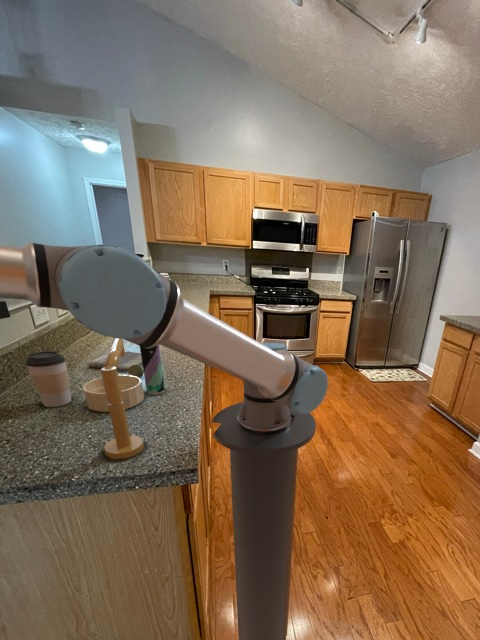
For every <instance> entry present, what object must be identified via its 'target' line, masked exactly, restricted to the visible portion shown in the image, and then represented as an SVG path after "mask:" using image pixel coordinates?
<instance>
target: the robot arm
mask: <svg viewBox="0 0 480 640" xmlns="http://www.w3.org/2000/svg"><path fill="white" fill-rule="evenodd" d="M0 299H11V300H25V301H29V302H31V303H32V304H33V305H35V306H36V307H37V308H47V309H58V310H63V311H66V312H67V311H68V312H69V313H70V314H71V316H73V318H75V319H76V320H77V321H78V322H79V323H80V324H82V325H84V326H85V327H86V328H87V329H89V330H90V331H92V332H94V333H97V334H98V335H101V336H103V337H110V338H113V339H116V338H117V339H122V340H123V341H126V342H130V343H132V344H134V345H136V346H139V347H140V346H141V347H144V348H152V347H154V346H157V345H159V346H160V345H161V346H163V347H165V348H168V349H170V350H172V351H174V352H176V353H179V354H181V355H184V356H186V357H187V358H190V359H193V360H195V361H197V362H199V363H202V364H204V365H207V366H208V367H211V368H214V369H215V370H218V371H220V372H223V373H225V374H228V375H230V376H232V377H234V378H236V379H239V380H241V381H243V399H242V401H241V402H242V405H241V408H240V411H239V414H238V424H239V426H240V427H241V428H242V429H244V430H246V431H248V432H251V433H256V434H273V433H277V432H280V431H283V430H285V429H286V428H287V427H288V426H289V425H290V421H291V417H292V418H295V415H293V414H291V413H290V412H289V409H288V407H289V408H290V409H292V410H293V411H294V412H297V413H299V414H308V413H310V414H311V413H312V412H313V411H314V410H316V409H318V408H319V406H320V405H321V404H322V403H323V401H324V399H325V397H326V394H327V391H328V387H329V378H328V375H327V373H326V371H325V370H324V369H322V368H321V367H320V366H319V365H316V364H315V365H313V363H312V364H311V363H309V362H307V361H305V360H304V359H302V358H300V357H299V356H297V355H295V354H294V353H292V352H290V351H289V350H288V347H287V345H286V344H285V343H282V342H259V341H258V340H256V339H254V338H253V337H250V336H249V335H247V334H245V333H244V332H242V331H240V330H238V329H236V328H235V327H233V326H232V325H230V324H228V323H226V322H224V321H223V320H221V319H219V318H218V317H216V316H214V315H212V314H210V313H208V312H207V311H205V310H203V309H202V308H200V307H198V306H196V305H195V304H193V303H191V302H189V301H188V300H186V299H185V298H183V297H182V294H181V290H180V287H179V285H178V284H177V283H176V282H174V281H172V280H170V279H169V278H167V277H166V276H164V275H162V274H161V273H159V272H158V271H156V270H154V269H153V267H152V266H151V265H150V264H149V263H147V262H146V260H145V259H143V258H142V257H140V256H139V255H137V254H136V253H134V252H132V251H129V250H128V249H126V248H123V247H119V246H116V245H111V244H92V245H75V246H71V245H70V246H67V245H65V246H64V245H49V244H43V243H37V242H28V243H26V244H25V245H24V246H22V247H16V246H10V245H3V244H0ZM8 318H11V313H10V311H9V307H8V304H7V301H6V300H0V320H2V319H8Z"/></svg>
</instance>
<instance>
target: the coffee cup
mask: <svg viewBox="0 0 480 640" xmlns="http://www.w3.org/2000/svg"><path fill="white" fill-rule="evenodd" d="M66 360H67V358H65V357H64V355H63V354H60V353H59V352H58V351H52V350H51V351H50V350H49V351H38V352H30V353H29V354H28V357H27V358H26V360H25V366H26V367H27V369H28V371H29V375H30V377H31V380H32V382H33V384H34V388H35V389H36V392H37V393H38V395H39V397H40V400H41V403H42V404H43V406H44V407H46V408H56V407H63V406H65V405H67V404H69V403H71V402H72V396H71V388H70V387H71V386H70V377H69V371H68V367H67V364H66Z"/></svg>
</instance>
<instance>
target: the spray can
mask: <svg viewBox="0 0 480 640" xmlns="http://www.w3.org/2000/svg"><path fill="white" fill-rule="evenodd" d="M139 351H140V352H139V353H141V358H142V364H143V366H142V368H143V371H144V374H143V377H144V383H145V389H146V394H148V395H150V396H158V395H162V394H164V393H165V392H166V388H165V379H164V373H163V366H162V358H161V357H162V356H161V351H160V345H157V346H154V347H152V348H144V347H141V346H139Z"/></svg>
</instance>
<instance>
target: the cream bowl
mask: <svg viewBox="0 0 480 640" xmlns="http://www.w3.org/2000/svg"><path fill="white" fill-rule="evenodd" d="M118 380H119V385H120V390H121V395H122V400H123V402H124V407H125V410H128V409H131V408H134V407H136V406H138V405H139V404H141V403H142V402H143V401H144V399H145V393H144V388H143V381H142V379H141V378H139V377H136V376H131V375H129V374H118ZM82 392H83V396H84V401H85V404H86V405H85V406H86V407H87V408H88V409H89V410H92V411H96V412H101V413H110V412H109V408H108V401H107V396H106V391H105V387H104V382H103V378H102V376H101V377H97V378H94V379H91V380H89V381H87V382H85V383H84V384H83V385H82Z"/></svg>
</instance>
